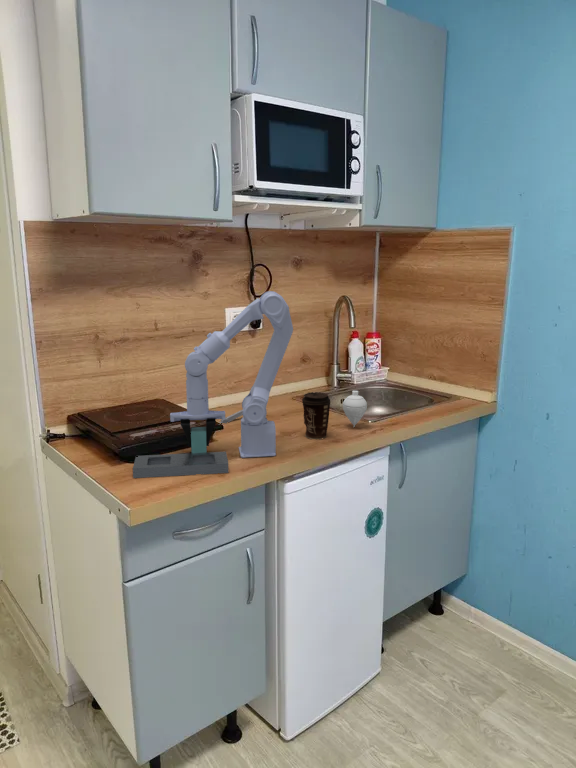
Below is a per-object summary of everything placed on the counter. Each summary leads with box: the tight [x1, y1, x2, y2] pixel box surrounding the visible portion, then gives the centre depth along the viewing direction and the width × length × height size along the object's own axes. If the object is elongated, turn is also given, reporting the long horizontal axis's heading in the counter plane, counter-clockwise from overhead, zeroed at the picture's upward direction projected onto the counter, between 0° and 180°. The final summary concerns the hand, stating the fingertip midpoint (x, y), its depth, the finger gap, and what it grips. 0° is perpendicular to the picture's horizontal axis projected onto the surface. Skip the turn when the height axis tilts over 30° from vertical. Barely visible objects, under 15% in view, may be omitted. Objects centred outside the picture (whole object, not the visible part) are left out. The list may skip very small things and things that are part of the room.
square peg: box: [190, 426, 208, 453], centre depth 153 cm, size 4×4×7 cm
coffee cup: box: [301, 391, 331, 440], centre depth 169 cm, size 9×8×13 cm
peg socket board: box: [132, 451, 229, 479], centre depth 142 cm, size 23×9×2 cm, turn 100°
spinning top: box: [342, 390, 368, 428], centre depth 178 cm, size 8×8×12 cm
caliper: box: [218, 409, 243, 424], centre depth 188 cm, size 20×1×6 cm, turn 136°
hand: (198, 445), depth 153 cm, fingers closed on square peg, 4 cm apart
